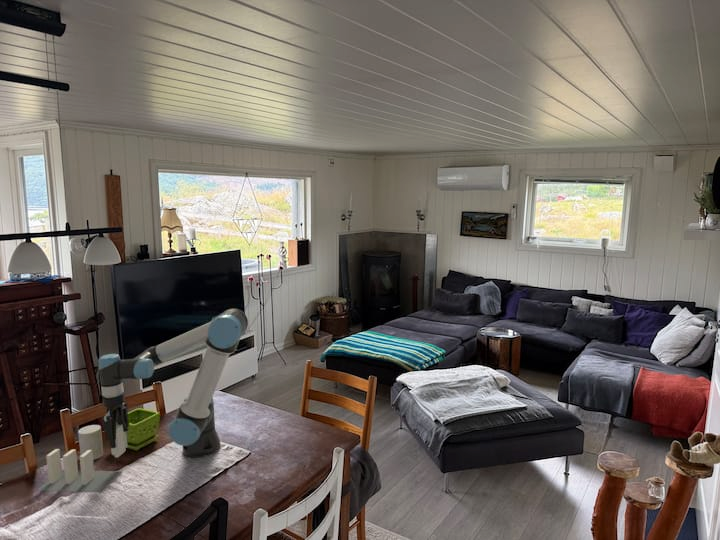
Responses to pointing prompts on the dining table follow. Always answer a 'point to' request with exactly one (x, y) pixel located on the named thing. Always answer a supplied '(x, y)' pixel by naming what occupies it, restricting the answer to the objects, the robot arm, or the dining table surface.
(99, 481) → the mat
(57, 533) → the dining table surface
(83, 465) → the domino
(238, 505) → the dining table surface
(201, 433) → the robot arm
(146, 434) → the flower pot
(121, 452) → the domino
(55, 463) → the domino
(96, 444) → the white upright cylinder
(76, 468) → the domino
